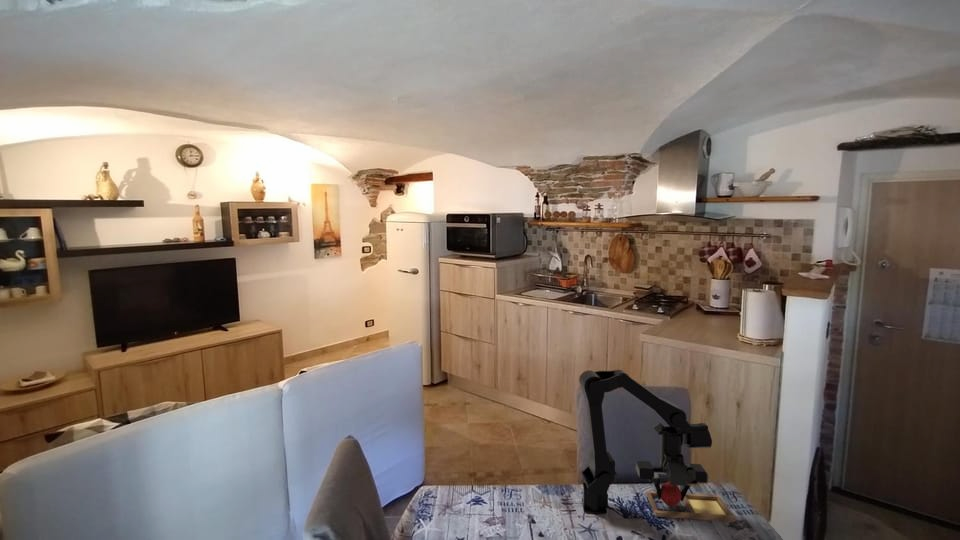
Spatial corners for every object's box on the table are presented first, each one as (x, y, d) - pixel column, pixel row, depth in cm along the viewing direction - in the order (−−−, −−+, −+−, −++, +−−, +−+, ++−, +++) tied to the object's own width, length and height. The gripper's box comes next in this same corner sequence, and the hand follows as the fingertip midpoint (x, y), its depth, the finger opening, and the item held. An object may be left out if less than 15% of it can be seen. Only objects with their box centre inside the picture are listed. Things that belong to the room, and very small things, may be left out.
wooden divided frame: (655, 516, 128) (655, 512, 128) (646, 494, 139) (646, 490, 139) (734, 521, 125) (734, 517, 125) (719, 499, 136) (719, 495, 136)
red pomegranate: (683, 513, 129) (683, 486, 129) (661, 511, 130) (662, 484, 130) (678, 501, 135) (679, 475, 134) (657, 499, 136) (658, 473, 135)
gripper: (644, 459, 125) (643, 514, 126) (716, 462, 122) (714, 518, 123) (635, 441, 136) (634, 491, 137) (701, 444, 133) (700, 495, 134)
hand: (670, 499), depth 132 cm, fingers closed on red pomegranate, 6 cm apart
